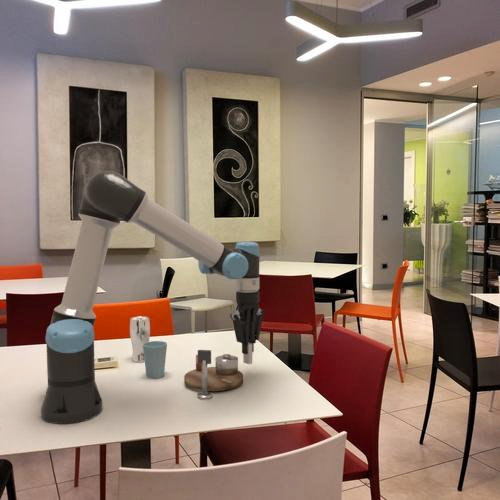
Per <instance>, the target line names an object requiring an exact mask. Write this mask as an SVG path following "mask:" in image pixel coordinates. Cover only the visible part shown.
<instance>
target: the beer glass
mask: <svg viewBox="0 0 500 500" xmlns="http://www.w3.org/2000/svg"><path fill="white" fill-rule="evenodd" d="M129 319H130V322H129V336H130V342H131V346H132V355H131V362H133V363H145V360H144V352H143V343H146V342H150V337H151V336H150V335H151V325H150V324H151V323H150V317H148V316H140V315H139V316H133V317H131V318H129Z"/></svg>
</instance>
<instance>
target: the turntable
mask: <svg viewBox="0 0 500 500" xmlns="http://www.w3.org/2000/svg"><path fill="white" fill-rule="evenodd" d="M207 373H208V392H216V391H217V392H218V391H225V390H231V389H233V388H237V387H240V385H242V384H243V383H244V374H243V372H242V371H240V370H238V373H237V374H235V375H231V376H221V375H217V374H216V371H215V366H209V367H208V366H207ZM183 379H184V380H183V383H184V385H185V386H186V387H188V388H190V389H194V390H197V391H198V390H199V391H202V364H199V363H198V354H196V355H195V369H192V370H190V371H187V373H185V374H184V376H183Z"/></svg>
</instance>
